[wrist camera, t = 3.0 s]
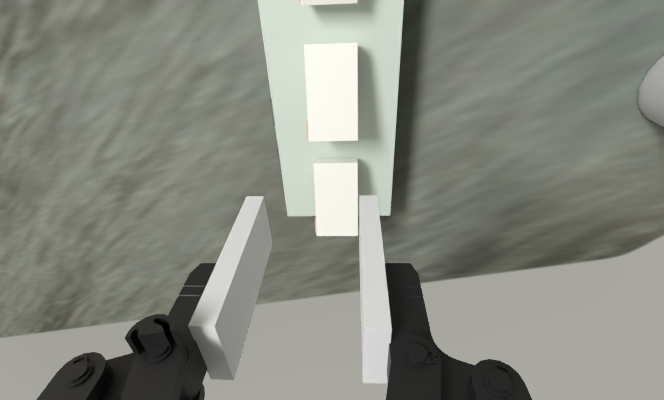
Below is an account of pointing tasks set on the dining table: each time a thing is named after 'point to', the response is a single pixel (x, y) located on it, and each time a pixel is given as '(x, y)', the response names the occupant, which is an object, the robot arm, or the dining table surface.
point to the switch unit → (373, 92)
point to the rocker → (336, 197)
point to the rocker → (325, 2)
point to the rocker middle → (332, 91)
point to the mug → (653, 93)
